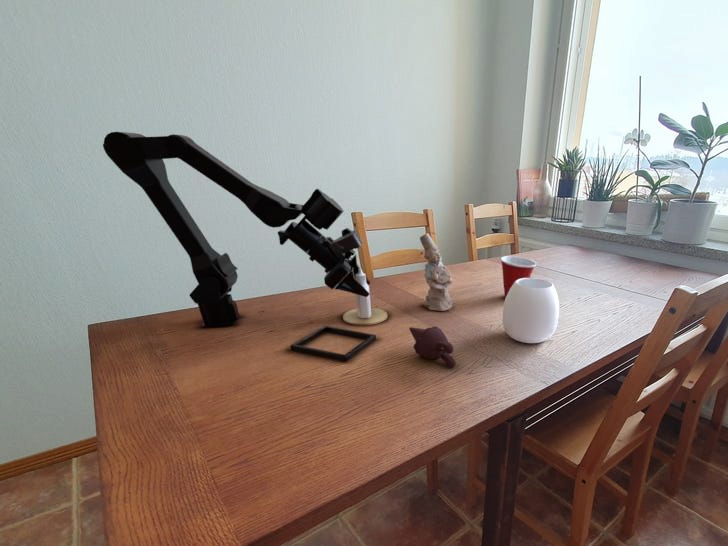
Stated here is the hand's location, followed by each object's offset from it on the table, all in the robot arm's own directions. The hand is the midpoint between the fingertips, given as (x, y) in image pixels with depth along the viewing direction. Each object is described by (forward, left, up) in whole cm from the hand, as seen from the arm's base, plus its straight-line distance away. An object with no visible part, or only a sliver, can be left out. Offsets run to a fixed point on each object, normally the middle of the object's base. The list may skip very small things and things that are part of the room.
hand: (368, 289), depth 93 cm
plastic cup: (+44, +7, -7) cm, 45 cm away
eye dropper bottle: (-2, 0, -7) cm, 7 cm away
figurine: (+19, +4, -7) cm, 20 cm away
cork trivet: (-1, 0, -7) cm, 7 cm away
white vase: (+36, -20, -7) cm, 41 cm away
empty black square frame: (-9, -15, -7) cm, 19 cm away
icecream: (+11, -25, -7) cm, 28 cm away
